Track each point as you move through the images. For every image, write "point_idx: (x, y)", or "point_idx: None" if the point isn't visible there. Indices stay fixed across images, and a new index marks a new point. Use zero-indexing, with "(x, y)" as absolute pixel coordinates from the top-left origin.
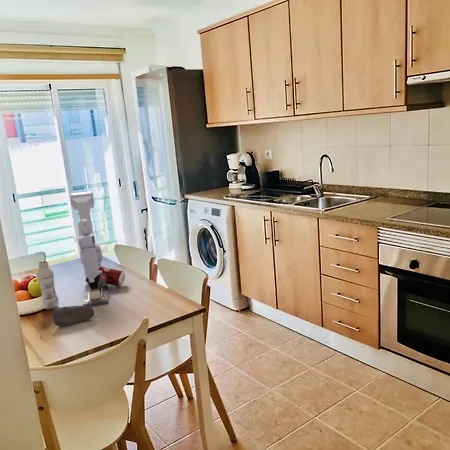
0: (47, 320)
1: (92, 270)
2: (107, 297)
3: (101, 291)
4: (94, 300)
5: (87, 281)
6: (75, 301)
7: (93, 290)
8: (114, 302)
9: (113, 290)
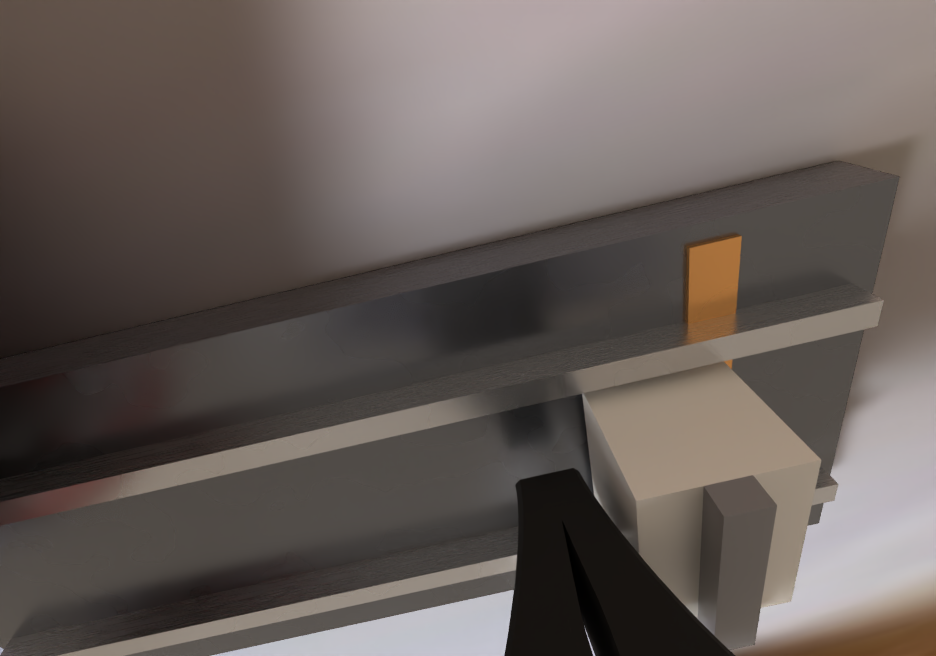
0: (901, 648)
1: None
2: (715, 220)
3: (420, 421)
4: None
5: None
6: None
7: (754, 579)
8: (841, 21)
9: (89, 221)
